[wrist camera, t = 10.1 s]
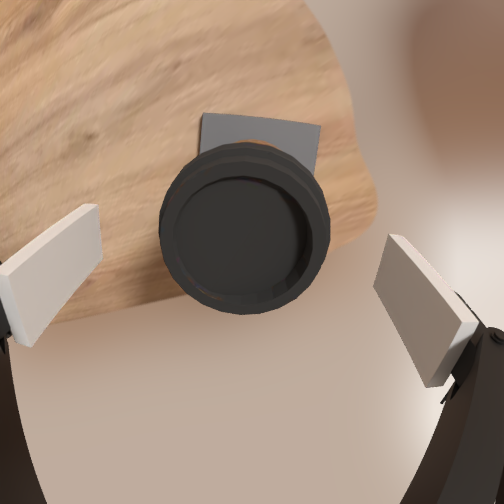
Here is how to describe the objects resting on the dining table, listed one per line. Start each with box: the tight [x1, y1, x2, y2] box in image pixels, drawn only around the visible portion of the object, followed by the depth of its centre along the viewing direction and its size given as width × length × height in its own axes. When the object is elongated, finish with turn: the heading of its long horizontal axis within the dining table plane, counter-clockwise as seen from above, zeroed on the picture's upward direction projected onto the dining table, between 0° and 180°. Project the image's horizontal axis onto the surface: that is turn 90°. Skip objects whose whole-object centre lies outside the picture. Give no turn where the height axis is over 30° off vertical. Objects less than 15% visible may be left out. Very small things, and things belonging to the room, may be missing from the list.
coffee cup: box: [158, 139, 330, 315], centre depth 21 cm, size 8×8×15 cm
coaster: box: [200, 113, 321, 176], centre depth 28 cm, size 10×10×1 cm
